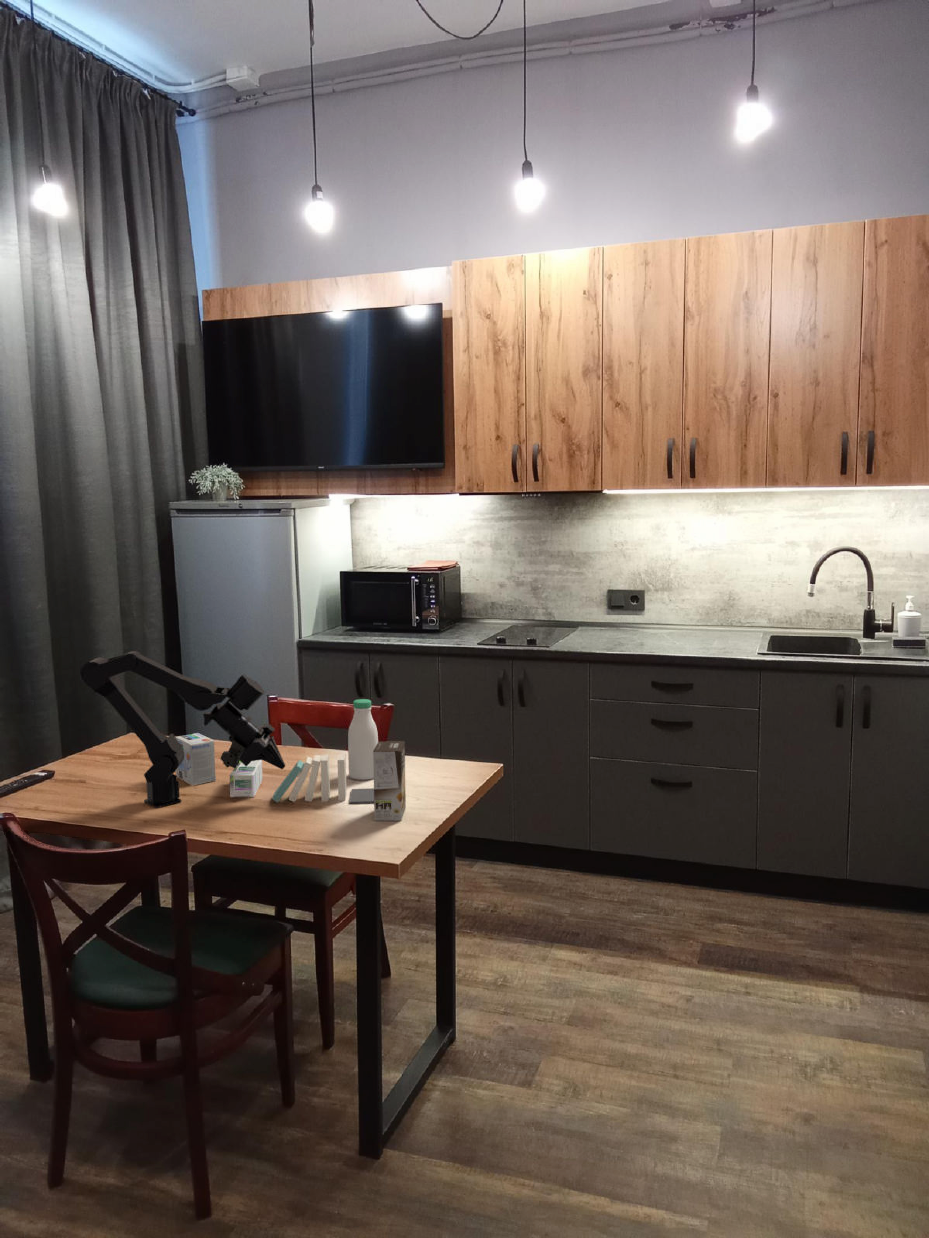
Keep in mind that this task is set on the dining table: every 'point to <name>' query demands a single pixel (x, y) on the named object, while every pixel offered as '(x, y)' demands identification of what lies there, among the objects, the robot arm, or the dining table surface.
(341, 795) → the domino
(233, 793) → the syrup box
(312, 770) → the domino
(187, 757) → the light bulb box
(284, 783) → the domino
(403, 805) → the coffee box
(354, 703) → the milk bottle
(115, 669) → the robot arm
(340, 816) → the dining table surface
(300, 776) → the domino
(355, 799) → the mat
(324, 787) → the domino
